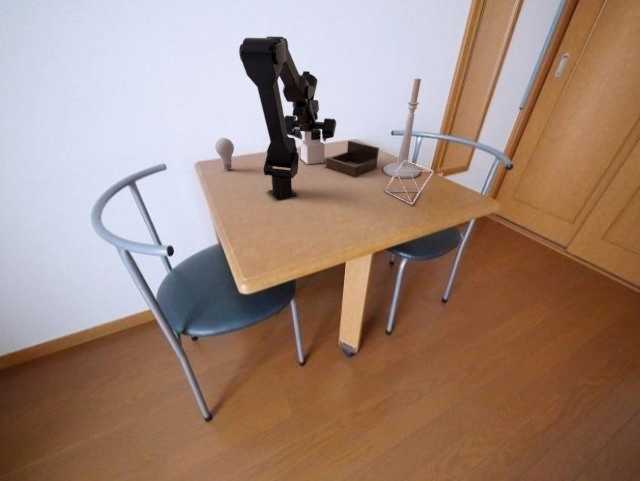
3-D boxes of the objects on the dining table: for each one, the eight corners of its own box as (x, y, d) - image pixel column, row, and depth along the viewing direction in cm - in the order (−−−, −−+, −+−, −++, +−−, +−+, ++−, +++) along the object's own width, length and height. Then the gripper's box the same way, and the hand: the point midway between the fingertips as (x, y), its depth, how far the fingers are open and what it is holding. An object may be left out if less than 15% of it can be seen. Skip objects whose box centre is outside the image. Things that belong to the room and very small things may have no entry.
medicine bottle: (317, 157, 116) (317, 126, 109) (324, 162, 111) (325, 130, 104) (300, 159, 114) (300, 127, 107) (307, 164, 108) (307, 131, 102)
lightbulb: (238, 171, 101) (233, 139, 94) (220, 173, 99) (214, 141, 93) (235, 166, 105) (231, 135, 99) (218, 168, 103) (212, 136, 97)
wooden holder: (354, 177, 99) (356, 155, 95) (326, 167, 106) (326, 147, 102) (376, 167, 107) (379, 147, 103) (348, 159, 114) (349, 140, 110)
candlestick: (426, 175, 102) (449, 78, 85) (397, 180, 97) (416, 79, 80) (403, 164, 111) (419, 75, 95) (376, 168, 107) (388, 75, 90)
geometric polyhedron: (380, 198, 85) (384, 168, 80) (390, 185, 93) (394, 157, 88) (422, 207, 80) (430, 177, 75) (429, 193, 89) (436, 164, 83)
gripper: (336, 93, 93) (341, 122, 108) (283, 90, 97) (294, 119, 112) (330, 123, 91) (335, 149, 106) (275, 119, 95) (288, 144, 110)
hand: (313, 139), depth 109 cm, fingers open, 9 cm apart
